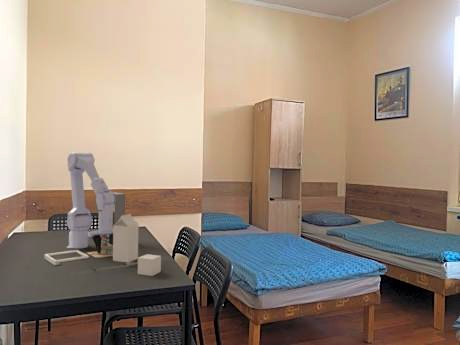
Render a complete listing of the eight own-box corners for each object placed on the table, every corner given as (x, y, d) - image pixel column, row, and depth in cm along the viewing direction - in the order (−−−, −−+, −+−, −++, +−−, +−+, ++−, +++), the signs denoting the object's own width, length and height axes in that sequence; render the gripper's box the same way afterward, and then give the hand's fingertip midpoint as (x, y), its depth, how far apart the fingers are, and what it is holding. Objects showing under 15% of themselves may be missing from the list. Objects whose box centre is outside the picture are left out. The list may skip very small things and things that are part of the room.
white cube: (152, 276, 136) (152, 259, 136) (137, 274, 138) (137, 257, 138) (160, 271, 142) (161, 255, 141) (146, 270, 144) (147, 254, 144)
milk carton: (138, 260, 156) (138, 214, 156) (128, 265, 150) (128, 216, 149) (123, 259, 159) (123, 213, 158) (112, 263, 152) (113, 215, 151)
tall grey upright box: (100, 242, 189) (101, 192, 189) (112, 241, 193) (113, 192, 193) (112, 247, 179) (113, 194, 178) (125, 246, 183) (125, 193, 182)
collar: (97, 252, 164) (97, 245, 164) (108, 251, 167) (108, 243, 167) (103, 256, 159) (104, 247, 159) (115, 254, 162) (115, 246, 162)
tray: (44, 258, 157) (44, 254, 157) (77, 254, 166) (77, 249, 166) (54, 265, 147) (54, 260, 147) (88, 260, 156) (89, 255, 156)
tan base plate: (85, 254, 164) (86, 241, 164) (112, 251, 172) (112, 238, 172) (97, 260, 156) (97, 246, 155) (124, 256, 163) (124, 243, 163)
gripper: (92, 222, 156) (92, 256, 156) (125, 219, 165) (125, 251, 166) (85, 220, 161) (85, 252, 161) (118, 217, 171) (118, 248, 171)
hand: (105, 251), depth 164 cm, fingers closed on collar, 5 cm apart
